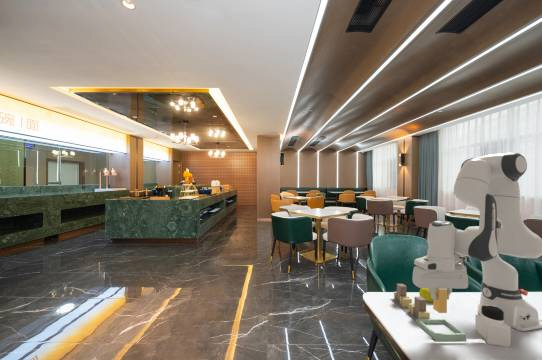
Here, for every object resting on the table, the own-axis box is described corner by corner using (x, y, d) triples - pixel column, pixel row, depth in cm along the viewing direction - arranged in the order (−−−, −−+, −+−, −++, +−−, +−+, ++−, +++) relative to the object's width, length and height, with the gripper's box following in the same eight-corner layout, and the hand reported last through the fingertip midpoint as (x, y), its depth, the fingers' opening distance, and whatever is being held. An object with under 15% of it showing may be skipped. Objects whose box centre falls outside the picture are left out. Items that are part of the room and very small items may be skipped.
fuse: (440, 308, 92) (441, 283, 92) (446, 313, 89) (447, 286, 89) (433, 308, 92) (433, 283, 92) (439, 313, 89) (439, 286, 89)
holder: (389, 301, 115) (390, 282, 115) (405, 301, 115) (405, 282, 115) (415, 324, 96) (415, 301, 96) (434, 324, 96) (434, 301, 96)
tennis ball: (416, 298, 118) (416, 284, 118) (428, 298, 119) (428, 284, 119) (427, 306, 111) (427, 291, 111) (440, 305, 112) (440, 290, 112)
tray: (444, 325, 96) (444, 318, 96) (466, 341, 86) (466, 334, 86) (416, 325, 95) (416, 318, 95) (434, 341, 85) (434, 334, 85)
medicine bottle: (511, 347, 83) (511, 313, 83) (487, 344, 84) (488, 311, 85) (496, 335, 90) (496, 303, 90) (474, 332, 91) (475, 301, 92)
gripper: (459, 260, 95) (458, 295, 94) (410, 259, 94) (409, 294, 93) (473, 266, 88) (473, 303, 88) (421, 265, 87) (420, 302, 87)
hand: (439, 298), depth 91 cm, fingers closed on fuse, 3 cm apart
